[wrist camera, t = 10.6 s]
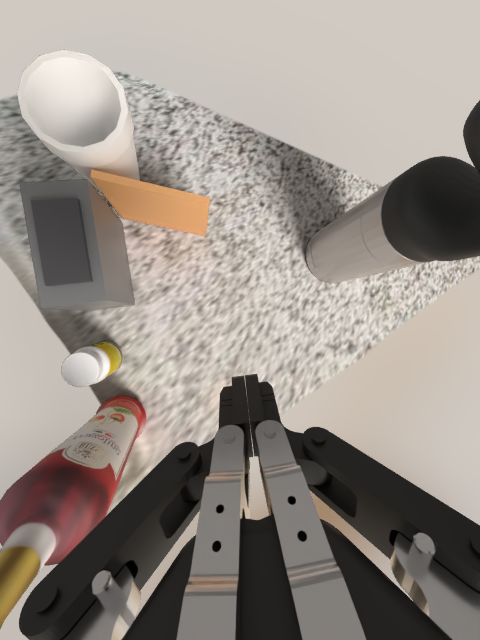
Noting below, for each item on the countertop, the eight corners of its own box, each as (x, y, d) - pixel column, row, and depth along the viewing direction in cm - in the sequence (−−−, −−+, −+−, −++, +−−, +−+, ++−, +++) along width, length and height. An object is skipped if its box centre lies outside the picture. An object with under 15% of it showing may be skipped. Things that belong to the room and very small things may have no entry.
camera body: (122, 222, 37) (84, 176, 24) (135, 305, 37) (104, 299, 25) (77, 226, 36) (14, 179, 23) (91, 310, 36) (36, 308, 24)
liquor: (87, 430, 37) (-248, 783, 9) (111, 383, 37) (-139, 584, 9) (135, 448, 38) (-30, 810, 10) (158, 403, 38) (58, 632, 11)
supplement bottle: (110, 334, 37) (85, 340, 29) (130, 360, 37) (112, 373, 29) (81, 354, 36) (47, 365, 28) (102, 380, 37) (75, 399, 29)
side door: (122, 212, 36) (91, 169, 26) (206, 230, 38) (210, 197, 28) (121, 218, 36) (90, 177, 26) (205, 236, 38) (209, 205, 28)
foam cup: (152, 149, 37) (129, 62, 25) (150, 212, 38) (126, 158, 25) (81, 139, 36) (18, 41, 23) (80, 205, 36) (15, 144, 23)
